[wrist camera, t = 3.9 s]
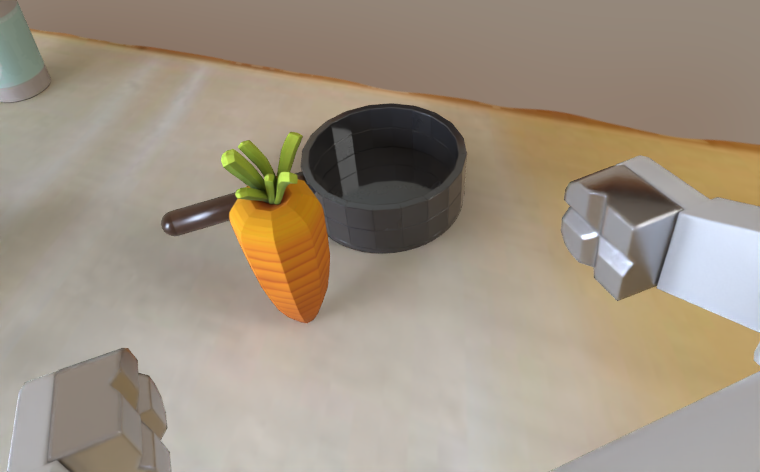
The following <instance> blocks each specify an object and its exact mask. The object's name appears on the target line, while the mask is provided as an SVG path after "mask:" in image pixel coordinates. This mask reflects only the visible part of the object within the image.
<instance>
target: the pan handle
mask: <svg viewBox="0 0 760 472" xmlns="http://www.w3.org/2000/svg"><path fill="white" fill-rule="evenodd" d="M295 174H296V175H297V178H298V179H299V180H303V181H305V183H306V180H305V178H304V176H303V173H302V172H299V173H295ZM306 184H307V183H306ZM235 193H236V192H235ZM235 193H232V194H228V195H225V196H221V197H218V198H214V199H211V200H207V201H204V202H201V203H197V204H194V205H190V206H187V207H183V208H180V209H176V210H173V211H170V212H168V213H166V214H165V215H164V216H163V218H162V221H161V226H162V229H163V230H164V232H165V233H167V234H168V235H171V236H179V235H183V234H186V233H189V232H193V231H196V230H199V229H203V228H206V227H209V226H213V225H216V224H219V223H223V222H226V221H230V219H229V212H230V210H231V209H232V207H233V206H234V204H235V202H236V201H237V197H236V195H235Z"/></svg>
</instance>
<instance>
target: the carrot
mask: <svg viewBox="0 0 760 472" xmlns="http://www.w3.org/2000/svg"><path fill="white" fill-rule="evenodd" d="M302 137H303V136H302V135H301V134H299V133H295V132H290V133H289V134H288V136H287V138H286V139H285V142H284V144H283V147H282V150H281V155H280V161H279V166H278V173H277V176H275V173H274V171H273V169H272V167H271V165H270V163H269V161H268V159H267V158H266V157H265V156H264V155H263V154H262V152H261V151H260V150H259V149H258V148H257V147H256V146H255V145H254V144H253V143H252V142H251V141H250V140H247V141H244V142H241V144H240V145H239V146H238V148H239V149H240V150H241V151H242V152H243V153H244V154H245V155H246V156H247V157H248V158H249V159H250V160H251V161H252V162H253V163H254V164H255V165H256V166H257V167H258V168H259V170H260V171H261V173H262V174H263V176H264V177H265V178H264V179H263V178H262V176H261V175H260V174H259V173H258V171H257V170H256V169H255V168H254V166H253V165H252V164H250V163H249V162H248V161H247V160H246V159H245V158H244V157H243V156H242V155H241V154H239V153H238V152H237V151H236V150H234V149H231V150H227V151H226V152H225V153H224V154H223V155H222V159H221V161H222V165H223V167H224V168H225V169H226V170H227V171H229V172H230V173H231V174H233V175H234V176H236V177H237V178H239V179H240V180H241V181H243V182H244V183H245V184H247V185H248V186H247V187H245V188H240V189H238V190H237V191H236V193H235V195H236V197H237V201H236V202H235V204H234V206H233V207H232V209H231V210H230V212H229V219H230V223H231V225H232V228H233V230H234V232H235V234H236V237H237V239H238V241H239V244H240V246H241V248H242V250H243V252H244V254H245V256H246V258H247V260H248V262H249V265H250V267H251V268H252V270H253V272H254V274H255V276H256V278H257V280H258V281H259V283H260V285H261V287H262V288H263V290H264V291H265V293H266V294H267V296H268V297H269V298H270V300H271V301H272V302H273V303H274V305H275V306H276V307H277V308H278V310H279V311H281V312H282V313H283V314H285V315H286V316H288V317H289V318H292V319H294V320H297V321H299V322H303V323H308V322H310V321H312V320H314V318H315V317H316V315H317V314H318V312H319V309H320V307H321V304H322V302H323V299H324V296H325V293H326V291H327V288H328V279H329V266H330V252H329V244H328V235H327V229H326V223H325V217H324V211H323V208H322V205H321V203H320V202H319V200H318V199H317V198H316V196H315V195H314V193H313V192H312V191H311V189H310V188H309V187H308V185H307V184H306V183H305V181H303V180H299V179H298V178H297V175H296V174H293V173H291V172H290V170H291V167H292V164H293V161H294V158H295V155H296V151H297V149H298V147H299V144H300V142H301V139H302Z"/></svg>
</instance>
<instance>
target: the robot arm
mask: <svg viewBox="0 0 760 472" xmlns="http://www.w3.org/2000/svg"><path fill="white" fill-rule="evenodd" d="M564 200H565V201H566V202H567V204H568V205H569V206H570V207H569V208H568V210H567V211H566V213H565V214H564V216H563V217H562V225H561V233H562V236H563V239H564V243H565V245H566V247H567V248H568V250H569V252H570V253H571V255H572V256H573V257H574V258H575V259H576V260H577V261H578V262H579V263H582V264H585V265H588V266H591V267H594V278H595V279H596V280H597V281H598V282H599V283H600V284H601V285H602V286H603V287H604V288H605V289H606V290H607V291H608V292H609V293H610V294H611V295H612V296H613V297H614V298H615V299H616V300H617V301H619V300H621V299H624V298H627V297H629V296H632V295H634V294H637V293H639V292H642V291H644V290H647V289H650V288H652V287H655V286H657V288H658V289H660V290H662V291H664V292H667V293H669V294H671V295H674V296H676V297H678V298H681V299H683V300H685V301H688V302H690V303H692V304H695V305H697V306H699V307H701V308H704V309H706V310H708V311H711V312H713V313H715V314H718V315H720V316H722V317H725V318H727V319H729V320H732V321H734V322H736V323H739V324H741V325H743V326H745V327H748V328H750V329H752V330H755V331H757V332H759V333H760V207H759V206H755V205H750V204H746V203H741V202H737V201H732V200H728V199H723V198H719V197H717V198H714V199H711V200H710V199H709V198H707V197H706V196H704V195H703V194H701V193H700V192H698V191H697V190H695V189H694V188H693V187H691V186H690V185H688V184H687V183H685V182H684V181H682V180H681V179H679V178H678V177H676V176H675V175H674V174H672V173H671V172H669V171H668V170H666V169H665V168H663V167H662V166H660V165H659V164H657V163H656V162H655V161H653V160H652V159H650V158H648V157H645V156H637V157H634V158H632V159H629V160H627V161H624V162H621V163H619V164H616V165H615V166H611V167H608V168H606V169H603V170H601V171H598V172H595V173H593V174H590V175H587V176H585V177H582V178H580V179H577V180H574V181H572V182H570V183H569V184H568V186H567V187H566V189H565V196H564ZM754 361H755V362H757V363H758V364H759V365H760V343H759V344H758V346H757V348H756V350H755V352H754ZM166 430H167V420H166V412H165V408H164V405H163V401H162V398H161V395H160V393H159V391H158V389H157V387H156V385H155V383H154V382H153V380H152V379H151V378H150V376H148V375H145V374H141V373H138V360H137V359H136V358H135V356H134V355H133V354H132V353H131V351H130V350H129V349H128V348H121V349H118V350H115V351H112V352H109V353H106V354H104V355H101V356H98V357H95V358H92V359H89V360H86V361H83V362H80V363H77V364H75V365H72V366H69V367H66V368H63V369H60V370H59V371H56V372H53V373H50V374H48V375H45V376H42V377H39V378H36V379H33V380H30V381H27V382H25V383H24V385H23V386H22V388H21V389H20V391H19V395H18V402H17V408H16V415H15V422H14V428H13V435H12V442H11V449H10V455H9V462H8V469H7V472H171V461H170V452H169V450H168V449H167V448H166V447H165V445H164V444H163V443H162V442H161V439H162V437H163V435H164V433H165V431H166ZM549 472H760V371H759V372H757V373H755V374H753V375H751V376H748V377H746V378H744V379H742V380H740V381H738V382H736V383H734V384H732V385H730V386H727V387H725V388H723V389H721V390H719V391H717V392H715V393H713V394H711V395H709V396H706V397H704V398H702V399H700V400H698V401H696V402H694V403H692V404H690V405H688V406H685V407H683V408H681V409H679V410H677V411H675V412H673V413H671V414H669V415H667V416H664V417H662V418H660V419H658V420H656V421H654V422H652V423H650V424H648V425H646V426H643V427H641V428H639V429H637V430H635V431H633V432H631V433H629V434H627V435H625V436H622V437H620V438H618V439H616V440H614V441H612V442H610V443H608V444H606V445H604V446H602V447H599V448H597V449H595V450H593V451H591V452H589V453H587V454H585V455H583V456H581V457H578V458H576V459H574V460H572V461H570V462H568V463H566V464H564V465H562V466H560V467H557V468H555V469H553V470H551V471H549Z"/></svg>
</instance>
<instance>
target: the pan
mask: <svg viewBox="0 0 760 472" xmlns="http://www.w3.org/2000/svg"><path fill="white" fill-rule="evenodd" d="M466 162H467V151H466V147H465V143H464V138H463V137H462V135H461V134H460V133H459V131H458V130H457V129H456V128H455V126H454V125H453V124H452V123H451V122H449V121H448V120H446V119H445V118H443V117H442V116H440V115H438V114H437V113H435V112H432V111H429V110H426V109H423V108H420V107H417V106H411V105H401V104H378V105H368V106H364V107H360V108H357V109H353V110H349V111H346V112H344V113H342V114H340V115H338V116H336V117H334V118H332V119H330V120H328V121H327V122H325V123H324V124H323V125H322V126H320V127H319V128H318V129H317V130H316V131H315V132H314V133H312V135H311V136H310V138H309V139H308V141H307V143H306V145H305V146H304V148H303V150H302V158H301V171H302V173H303V176H304V178H305V180H306V183H307V185H308V187H309V188H310V189H311V191H312V192H313V193H314V195H315V196H316V198H317V199H318V200H319V202H320V203H321V205H322V208H323V211H324V217H325V223H326V229H327V235H328V236H329V237H330V238H331V239H333V240H334V241H336V242H338V243H340V244H342V245H343V246H346V247H349V248H351V249H355V250H359V251H363V252H370V253H395V252H401V251H407V250H410V249H414V248H417V247H420V246H422V245H425V244H427V243H429V242H431V241H433V240H435V239H436V238H438V237H439V236H440V235H442V234H443V233H444V232H445V231H447V230H448V229H449V228H450V227H451V225H452V224H453V223H454V222H455V220H456V219H457V217H458V215H459V213H460V211H461V208H462V204H463V198H464V194H465V178H466Z"/></svg>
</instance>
